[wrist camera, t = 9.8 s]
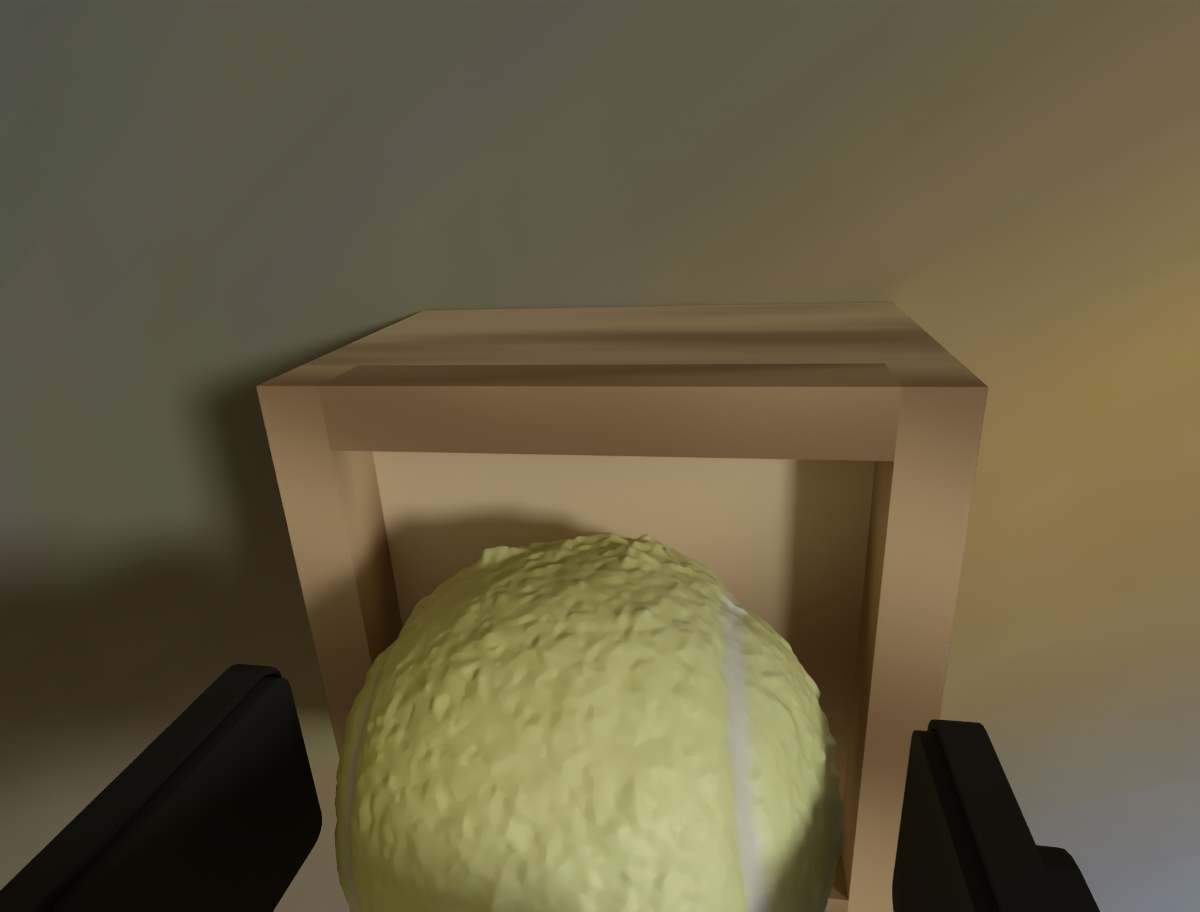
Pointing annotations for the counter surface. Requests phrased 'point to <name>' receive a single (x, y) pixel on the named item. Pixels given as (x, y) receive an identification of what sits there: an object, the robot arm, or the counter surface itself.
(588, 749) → the tennis ball
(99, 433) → the counter surface
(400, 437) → the wooden box
